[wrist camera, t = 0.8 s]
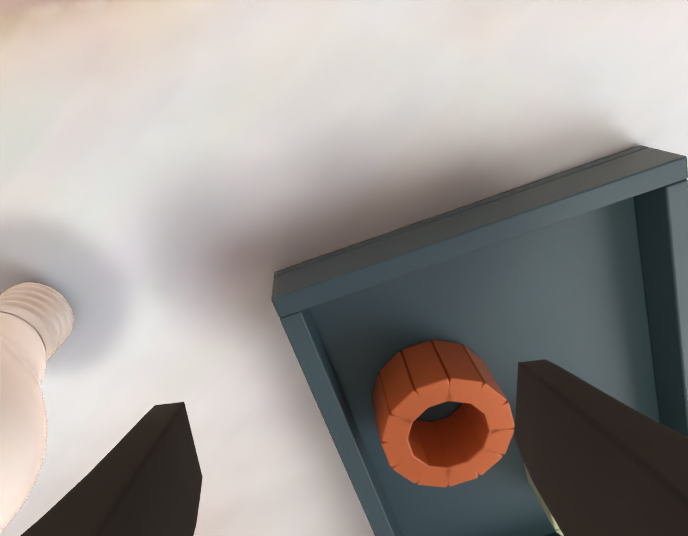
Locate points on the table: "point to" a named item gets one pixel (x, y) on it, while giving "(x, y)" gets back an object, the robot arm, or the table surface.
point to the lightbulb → (26, 385)
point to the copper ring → (447, 433)
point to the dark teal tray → (502, 322)
